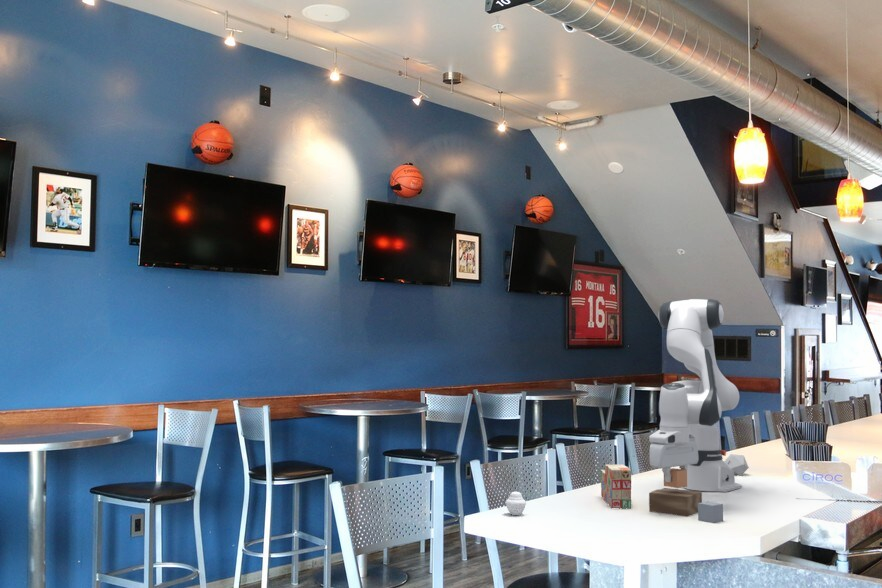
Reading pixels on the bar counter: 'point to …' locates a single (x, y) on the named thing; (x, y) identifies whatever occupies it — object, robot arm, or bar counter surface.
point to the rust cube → (677, 478)
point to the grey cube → (710, 512)
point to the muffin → (515, 503)
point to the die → (737, 464)
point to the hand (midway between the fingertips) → (675, 480)
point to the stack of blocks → (616, 486)
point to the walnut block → (674, 501)
